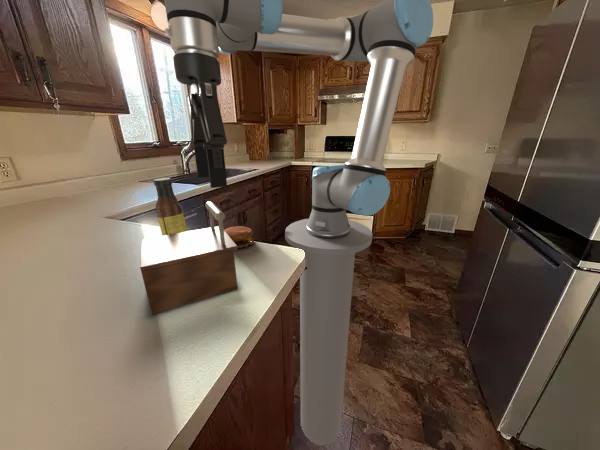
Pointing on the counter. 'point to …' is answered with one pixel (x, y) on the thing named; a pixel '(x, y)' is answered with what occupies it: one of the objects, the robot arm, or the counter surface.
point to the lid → (187, 244)
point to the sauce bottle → (168, 208)
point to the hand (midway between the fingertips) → (210, 181)
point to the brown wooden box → (189, 281)
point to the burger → (240, 235)
